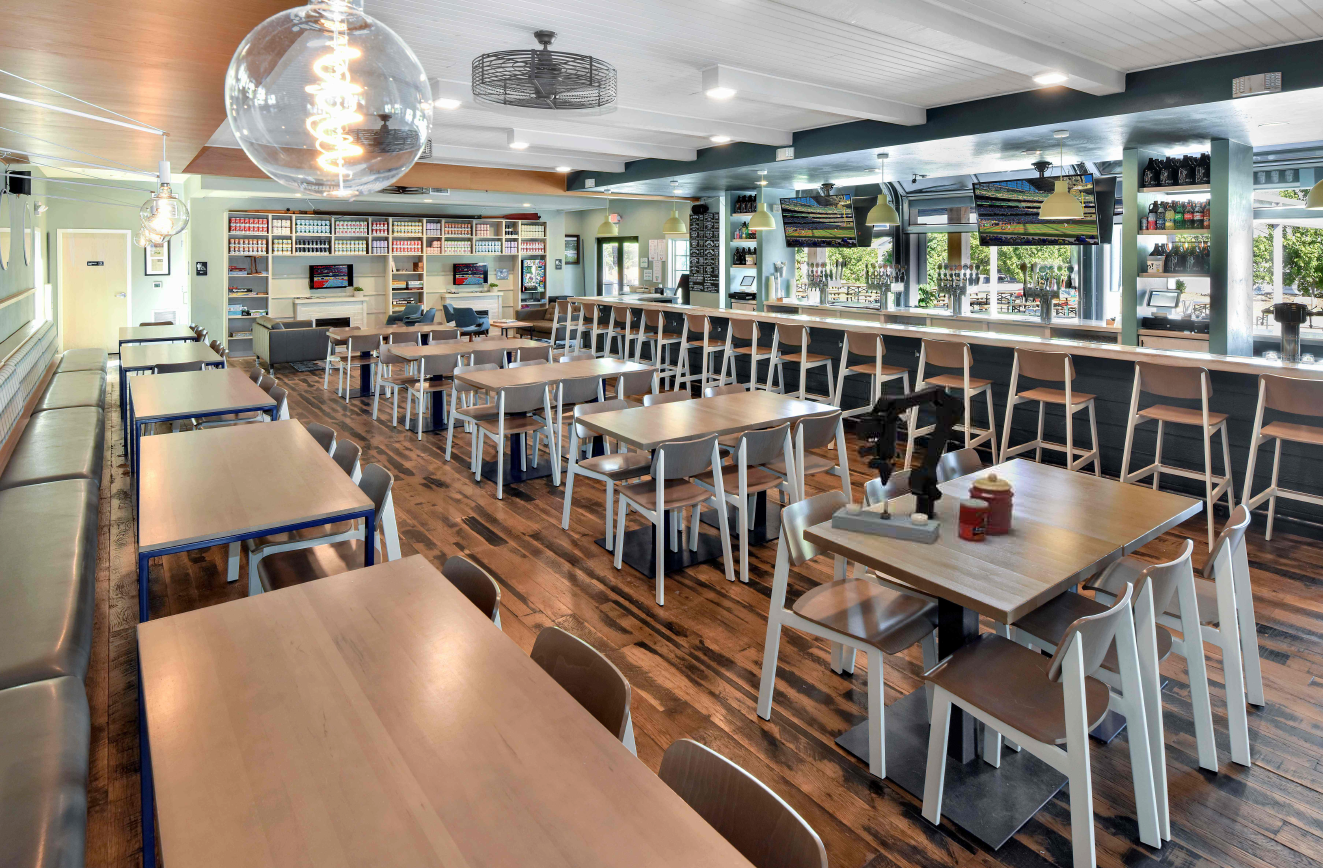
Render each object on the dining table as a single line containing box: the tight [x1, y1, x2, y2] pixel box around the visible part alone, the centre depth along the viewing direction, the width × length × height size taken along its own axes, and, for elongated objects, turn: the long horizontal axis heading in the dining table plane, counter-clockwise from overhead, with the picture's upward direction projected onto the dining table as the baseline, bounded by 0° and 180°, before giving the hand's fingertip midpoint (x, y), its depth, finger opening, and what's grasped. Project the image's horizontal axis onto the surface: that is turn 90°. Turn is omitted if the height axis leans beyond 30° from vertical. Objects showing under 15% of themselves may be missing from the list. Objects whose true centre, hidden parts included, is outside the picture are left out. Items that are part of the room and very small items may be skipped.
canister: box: [968, 472, 1015, 536], centre depth 240 cm, size 13×13×18 cm
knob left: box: [845, 503, 862, 516], centre depth 245 cm, size 5×5×5 cm
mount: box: [831, 506, 941, 545], centre depth 240 cm, size 10×30×4 cm, turn 59°
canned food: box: [957, 498, 988, 543], centre depth 233 cm, size 8×8×11 cm
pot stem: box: [880, 500, 891, 520], centre depth 239 cm, size 3×3×6 cm
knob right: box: [910, 512, 928, 526], centre depth 235 cm, size 5×5×5 cm
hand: (884, 485), depth 246 cm, fingers closed
